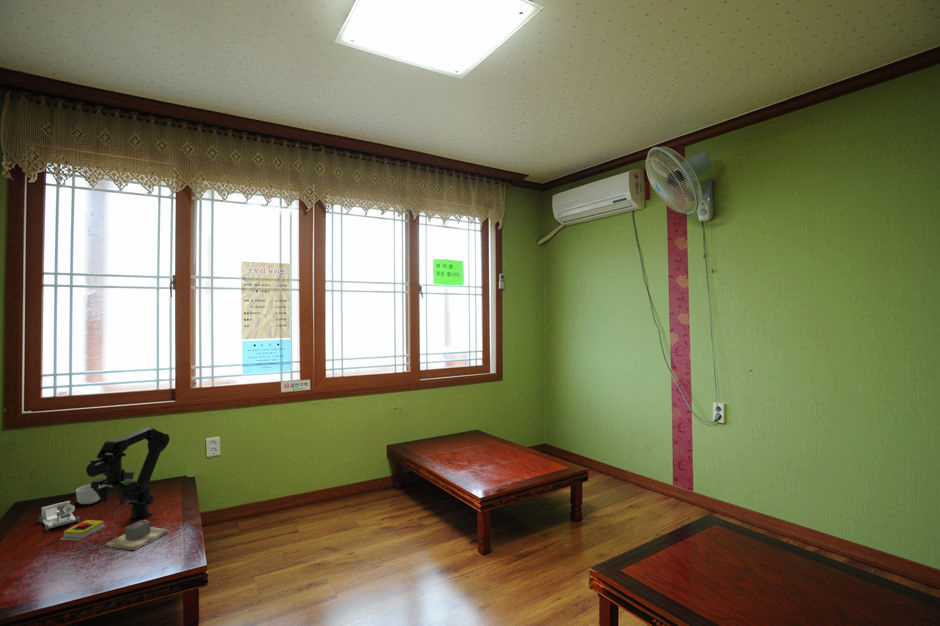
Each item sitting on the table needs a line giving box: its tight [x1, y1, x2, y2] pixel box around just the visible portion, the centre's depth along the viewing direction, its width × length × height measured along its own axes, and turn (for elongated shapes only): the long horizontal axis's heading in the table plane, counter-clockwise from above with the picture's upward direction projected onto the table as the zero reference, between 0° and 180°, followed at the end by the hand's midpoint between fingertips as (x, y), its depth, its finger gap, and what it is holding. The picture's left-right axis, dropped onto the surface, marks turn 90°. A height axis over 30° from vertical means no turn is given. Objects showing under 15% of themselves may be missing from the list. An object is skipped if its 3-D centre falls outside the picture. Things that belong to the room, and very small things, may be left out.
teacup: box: [75, 483, 101, 505], centre depth 239 cm, size 14×11×8 cm
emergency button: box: [60, 519, 105, 541], centre depth 206 cm, size 9×4×15 cm
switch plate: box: [106, 522, 169, 551], centre depth 200 cm, size 16×14×6 cm
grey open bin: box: [124, 519, 151, 541], centre depth 200 cm, size 7×5×5 cm, turn 166°
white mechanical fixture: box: [38, 500, 81, 532], centre depth 214 cm, size 18×10×12 cm
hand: (113, 503), depth 208 cm, fingers open, 9 cm apart
